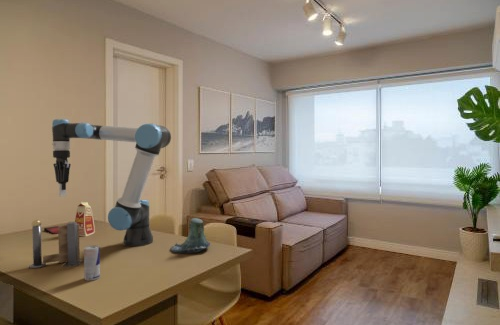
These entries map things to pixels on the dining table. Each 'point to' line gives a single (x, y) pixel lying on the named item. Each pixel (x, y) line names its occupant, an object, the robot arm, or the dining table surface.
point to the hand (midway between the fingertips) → (62, 196)
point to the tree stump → (193, 239)
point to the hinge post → (37, 245)
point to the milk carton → (85, 219)
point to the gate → (62, 247)
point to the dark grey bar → (72, 245)
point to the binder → (52, 230)
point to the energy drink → (91, 263)
